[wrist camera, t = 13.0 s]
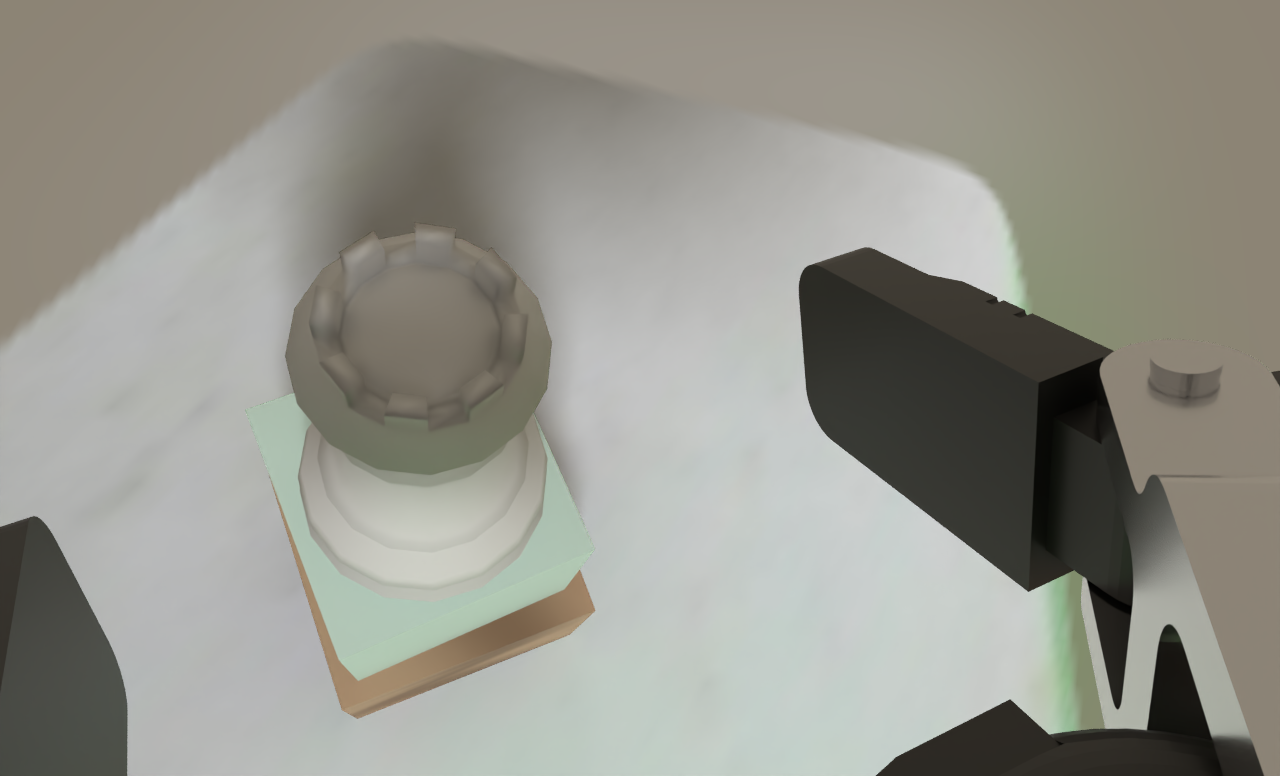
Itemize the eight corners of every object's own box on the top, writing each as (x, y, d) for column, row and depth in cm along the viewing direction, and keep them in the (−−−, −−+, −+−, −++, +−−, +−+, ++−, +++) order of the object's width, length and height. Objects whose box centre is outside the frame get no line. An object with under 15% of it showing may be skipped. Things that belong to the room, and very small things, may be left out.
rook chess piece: (353, 346, 20) (307, 105, 13) (572, 415, 20) (650, 220, 13) (264, 565, 18) (150, 434, 11) (504, 636, 19) (548, 555, 11)
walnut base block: (357, 718, 27) (341, 709, 23) (291, 508, 29) (264, 459, 24) (569, 634, 29) (595, 610, 24) (496, 440, 30) (508, 382, 26)
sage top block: (358, 681, 23) (338, 660, 18) (281, 478, 24) (244, 409, 19) (564, 589, 24) (594, 549, 20) (483, 402, 25) (493, 323, 21)
